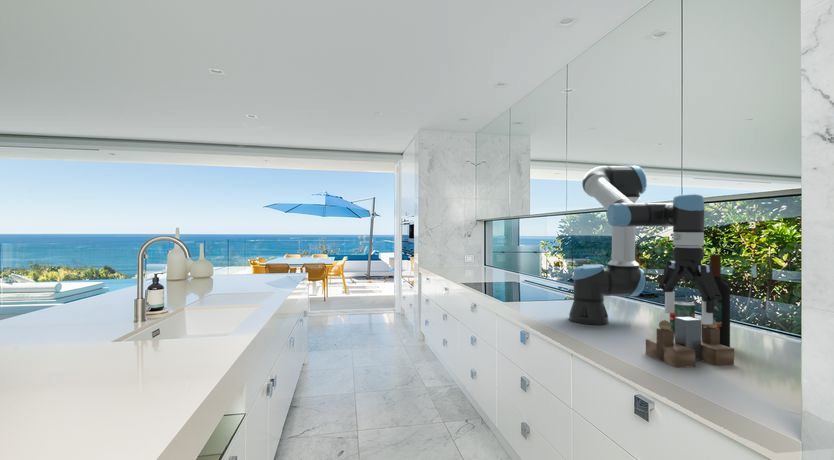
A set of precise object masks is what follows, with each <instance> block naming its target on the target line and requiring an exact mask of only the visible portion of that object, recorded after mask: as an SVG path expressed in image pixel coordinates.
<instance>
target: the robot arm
mask: <svg viewBox="0 0 834 460" xmlns="http://www.w3.org/2000/svg"><path fill="white" fill-rule="evenodd" d="M647 183H648V179H647V174H646V173H645V170H644V169H643V168H642V167H641V166H638V165H631V164H630V165H627V164H626V165H602V166H601V165H600V166H596V167H594V168H592V169H590V170H589V171H588V172H587V173H586V174H585V175H584V177H583V178H582V189H583V191H584V193H586V195H588V197H590V198H591V197H592V198H594V199H596V201H597V202H599V204H600V205H601V206H602V207H603V208H604V209H605V210H606V211H607V212H606V218H607V223H608V224H609V225H610V226H611V260H609V261H608V262H607V267H605V266H604V265H603V264H599V263H598V264H597V263H596V264H585V265H579V266H576V267H575V268H574V269H573V276H572V277H573V278H572V279H573V302H572V305H571V308H570V311H569V313H568V314H569V315H568V318H569V320H570V321H572V322H575V323H579V324H584V325H606V324H609V315H608V312H607V308H606V306H605V300H604V299H605V297H627V298H628V297H637V296H640V295H641V294H642V292H643V291H644V288H645V285H646V275H645V272H644V270H643V269H642V268H640V264H639V263H638V262H637V261H636V227H664V228H665V227H667V228H668V227H672V245H673V246H674V247H673V248H672V259H673V260H667V261H666V263H665V269H664V270H663V271H664V272H663V274H662V276H661V279H660V281H659V284H658V286H657V287H658V288H659V289H661V290H662V291H663V301H664V313H665V314H670V313H674V311H675V301H676V300H675V297H676V296H675V293H676V292H675V291H674V289H675V288H676V287H677V286H678V284H679V283H680V282H681V280H682V279H684V278H685V279H689V280H690V281H692V282H693V284H694V285H695V287H696V288H697V290H698V292H699V293H700V294H701V295H702V296H703V298H704V300H703V301H702V324H704V325H705V324H713V313H714V311H715V301H717V300H722V296H721V294H720V291H719V289H718V286H717V284H716V281H715V279H714V276H713V274H712V266H711V265H710V264H705V265H704V264H703V265H702V261H703V260H704V258H705V257H704V256H705V254H704V253H705V249H704V248H703V247H704V246H705V233H704V230H705V210H706V206H705V198H704V196H703V195H702V194H699V193H695V194H694V193H693V194H692V193H691V194H690V193H689V194H676V195H675V196H674V197H673V198H672V199H673V200H672V202H651V203H650V202H646V203H645V202H640V203H639V202H638V201H639V200H640V199H641V195H642V194H644V193H645V192H646V190H647V189H646V188H647V185H648V184H647ZM701 295H700V296H701ZM715 295H716V296H715ZM708 296H709V297H708Z"/></svg>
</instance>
